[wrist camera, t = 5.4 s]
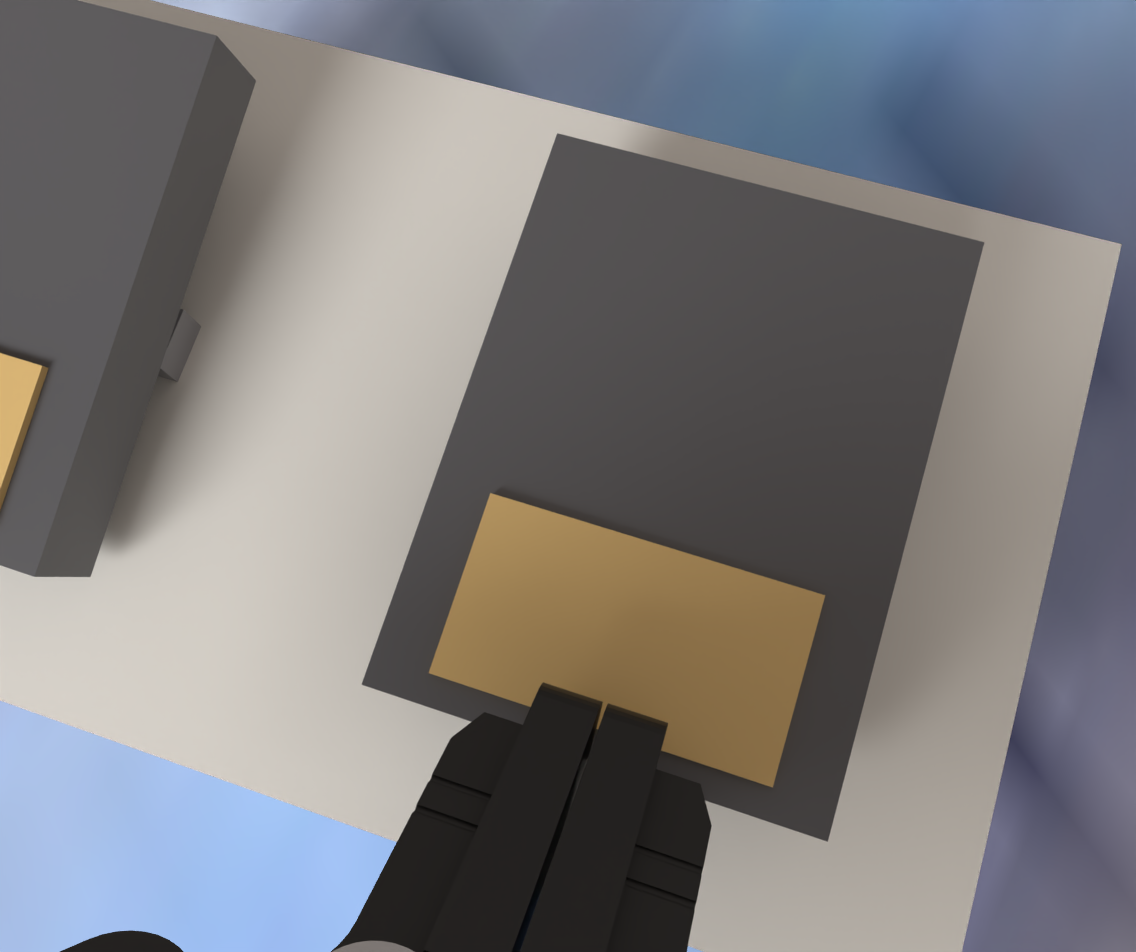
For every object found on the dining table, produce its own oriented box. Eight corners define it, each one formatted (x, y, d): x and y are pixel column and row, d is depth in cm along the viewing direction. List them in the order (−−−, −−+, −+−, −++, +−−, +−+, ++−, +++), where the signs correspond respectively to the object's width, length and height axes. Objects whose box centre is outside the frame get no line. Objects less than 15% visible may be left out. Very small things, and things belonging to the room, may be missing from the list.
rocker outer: (387, 688, 15) (358, 684, 13) (564, 181, 16) (556, 126, 15) (809, 830, 14) (829, 843, 13) (955, 284, 16) (987, 236, 14)
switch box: (-39, 620, 27) (-461, 543, 17) (148, 203, 30) (-117, -90, 19) (820, 918, 24) (956, 1051, 14) (945, 426, 27) (1142, 223, 16)
